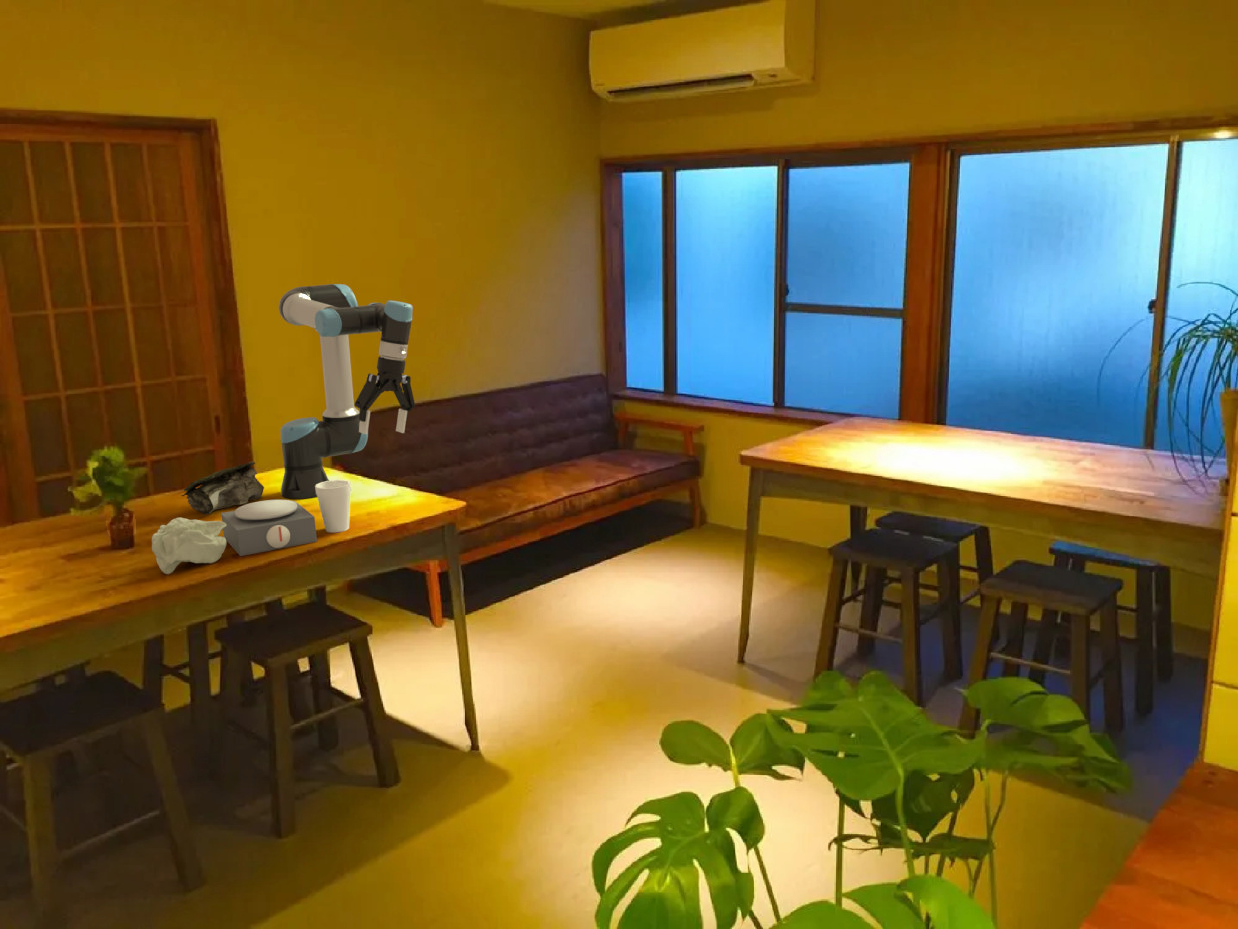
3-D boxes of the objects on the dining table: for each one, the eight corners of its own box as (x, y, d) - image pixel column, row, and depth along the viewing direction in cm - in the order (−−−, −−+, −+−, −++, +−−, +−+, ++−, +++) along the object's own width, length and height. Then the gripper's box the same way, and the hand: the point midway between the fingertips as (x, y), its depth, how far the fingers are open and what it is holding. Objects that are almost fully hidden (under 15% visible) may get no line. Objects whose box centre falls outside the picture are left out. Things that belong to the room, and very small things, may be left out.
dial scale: (224, 537, 284) (220, 506, 281) (297, 524, 294) (293, 493, 292) (241, 557, 266) (236, 524, 264) (318, 542, 276) (314, 510, 274)
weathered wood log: (194, 534, 304) (213, 502, 296) (167, 503, 306) (186, 470, 298) (264, 507, 328) (284, 477, 320) (240, 478, 330) (259, 447, 322)
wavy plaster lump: (202, 582, 268) (210, 524, 272) (227, 579, 260) (235, 519, 264) (133, 573, 255) (143, 511, 259) (157, 569, 247) (167, 505, 251)
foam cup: (359, 524, 292) (355, 479, 289) (348, 534, 283) (343, 488, 280) (327, 524, 293) (322, 480, 290) (314, 534, 284) (309, 488, 281)
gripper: (366, 358, 272) (355, 436, 276) (434, 361, 292) (423, 434, 296) (347, 353, 276) (337, 430, 280) (415, 356, 296) (405, 428, 300)
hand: (381, 432), depth 288 cm, fingers open, 13 cm apart
